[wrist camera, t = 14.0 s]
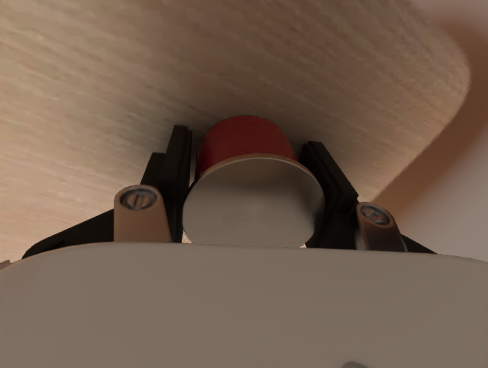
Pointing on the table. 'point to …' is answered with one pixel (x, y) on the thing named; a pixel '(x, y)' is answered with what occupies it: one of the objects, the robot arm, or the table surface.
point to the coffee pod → (251, 189)
